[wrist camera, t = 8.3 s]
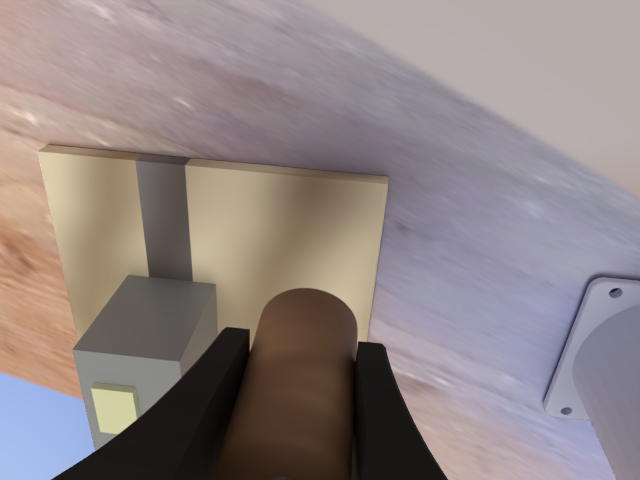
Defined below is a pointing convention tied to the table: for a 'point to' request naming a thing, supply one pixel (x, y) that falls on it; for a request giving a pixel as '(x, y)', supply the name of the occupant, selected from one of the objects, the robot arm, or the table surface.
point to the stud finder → (141, 348)
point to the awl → (295, 393)
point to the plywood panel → (212, 229)
